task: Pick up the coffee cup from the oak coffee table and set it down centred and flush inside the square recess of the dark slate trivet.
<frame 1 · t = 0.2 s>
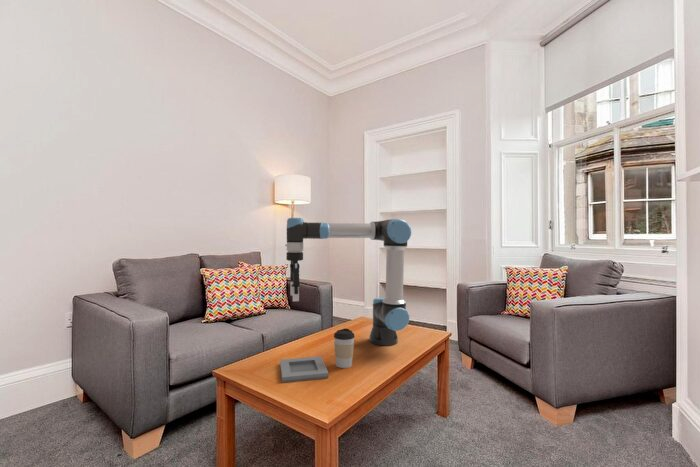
hand: (294, 298, 151), 28 cm above the table, fingers open, 13 cm apart
trivet: (303, 370, 138), on the table
coffee cup: (343, 365, 145), on the table
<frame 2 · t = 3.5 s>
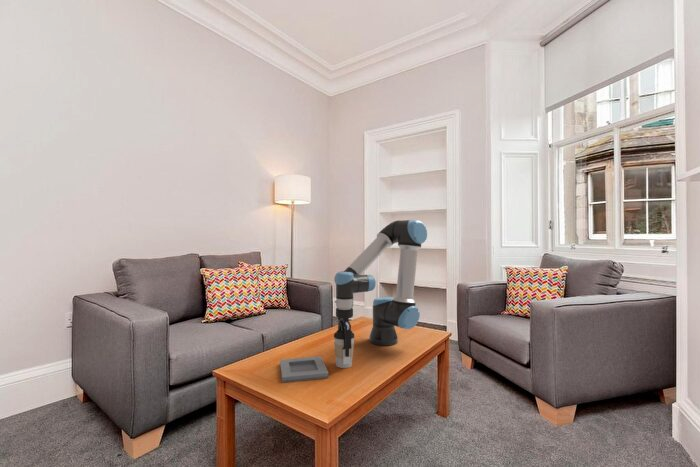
hand: (343, 359, 144), 2 cm above the table, fingers closed on coffee cup, 8 cm apart
coffee cup: (343, 365, 145), on the table, touching gripper
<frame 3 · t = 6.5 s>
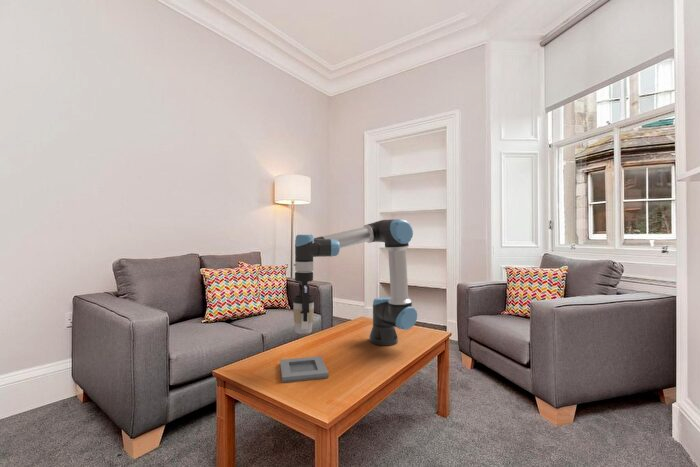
hand: (303, 325, 138), 19 cm above the table, fingers closed on coffee cup, 8 cm apart
coffee cup: (303, 331, 138), point 16 cm above the table, touching gripper
when the fingers open (5 cm above the table, at t = 9.4 s): coffee cup drops 2 cm, resting on trivet.
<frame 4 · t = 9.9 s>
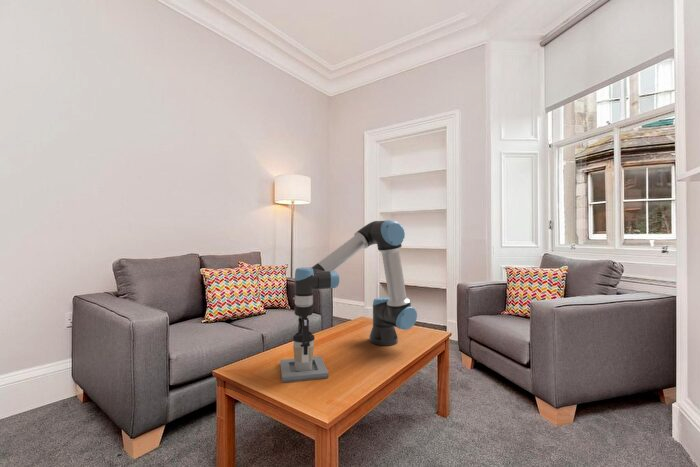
hand: (303, 355, 138), 6 cm above the table, fingers open, 13 cm apart
coffee cup: (303, 369, 138), point 1 cm above the table, touching trivet
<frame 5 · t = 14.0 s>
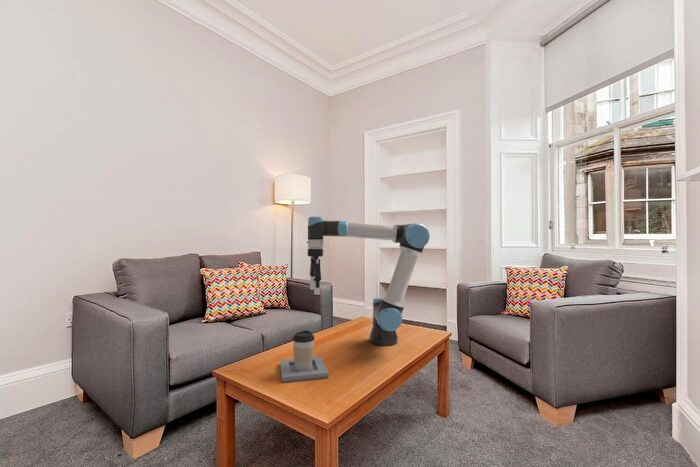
hand: (315, 291, 161), 29 cm above the table, fingers open, 13 cm apart
nothing on the table moved.
at the end: coffee cup 0.1 cm off-centre on the trivet, point 0.6 cm above the trivet's base; coffee cup touching trivet; coffee cup tilted 0° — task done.
